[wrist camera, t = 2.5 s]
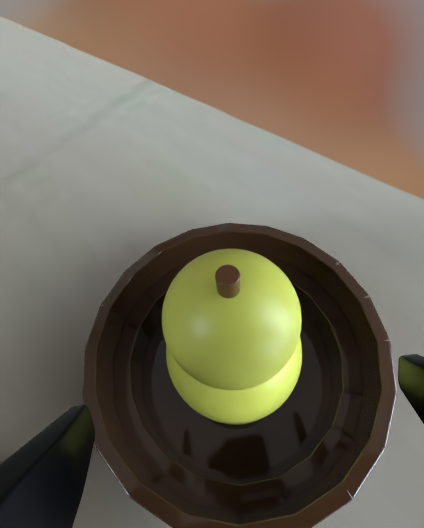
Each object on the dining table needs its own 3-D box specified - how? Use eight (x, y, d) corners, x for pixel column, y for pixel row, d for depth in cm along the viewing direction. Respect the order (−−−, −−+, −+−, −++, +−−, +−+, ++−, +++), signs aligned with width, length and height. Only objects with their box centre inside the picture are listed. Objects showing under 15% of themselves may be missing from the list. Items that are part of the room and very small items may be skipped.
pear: (313, 363, 18) (404, 267, 8) (237, 457, 16) (234, 483, 6) (231, 293, 21) (223, 156, 11) (157, 366, 19) (63, 280, 9)
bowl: (404, 363, 18) (456, 338, 14) (243, 598, 14) (244, 670, 9) (229, 232, 24) (226, 186, 19) (75, 369, 19) (28, 349, 15)
